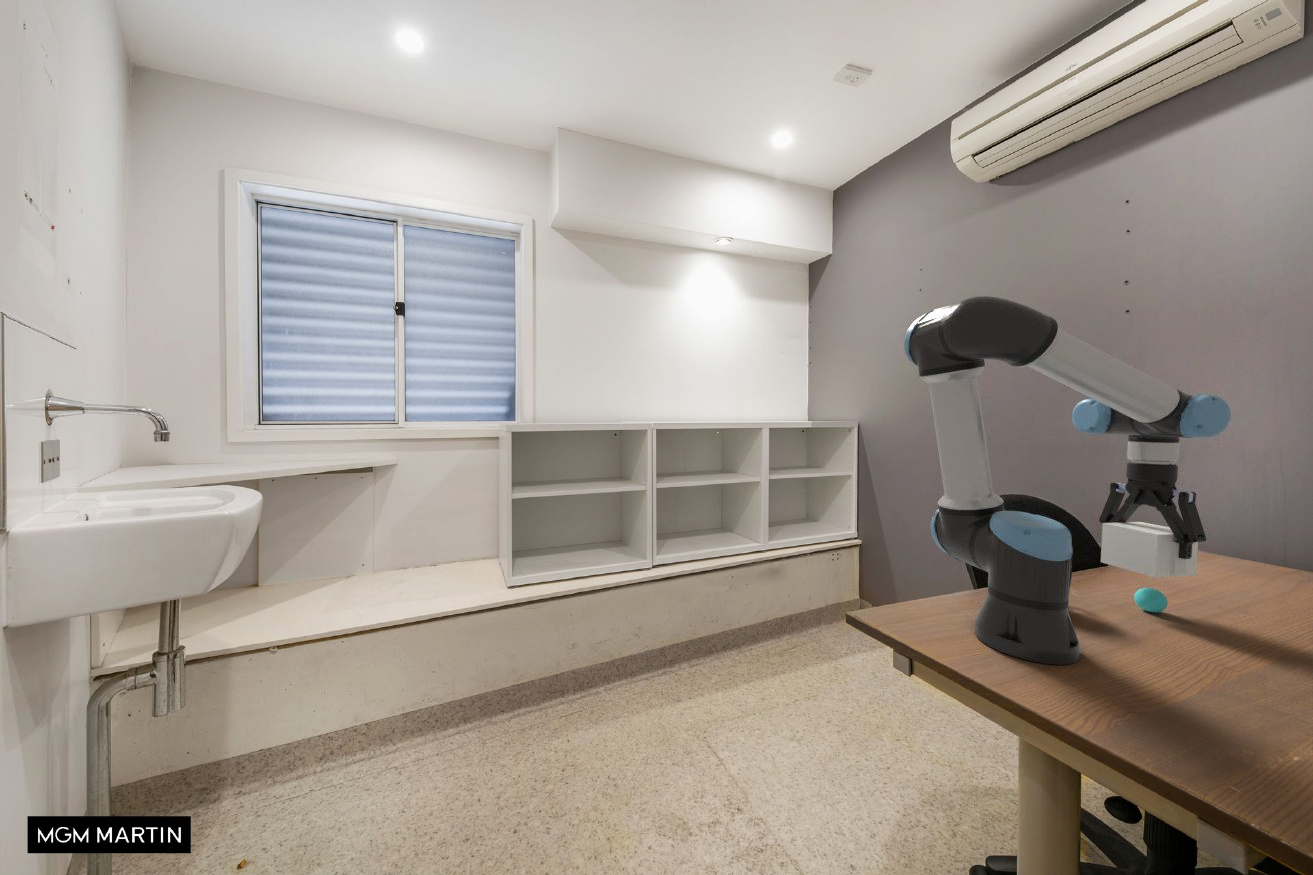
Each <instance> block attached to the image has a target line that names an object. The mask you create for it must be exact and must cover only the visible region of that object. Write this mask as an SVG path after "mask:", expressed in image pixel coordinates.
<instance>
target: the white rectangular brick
mask: <svg viewBox="0 0 1313 875" xmlns="http://www.w3.org/2000/svg"><path fill="white" fill-rule="evenodd" d="M1175 541H1177V539H1176V537H1175V536H1174V534H1173V532H1172V531H1171V529H1170V527H1169V526H1164V525H1159V524H1153V523H1148V522H1144V521H1143V522H1142V521H1129V522H1128V521H1126V522H1122V523H1102V530H1101V550H1100V563H1103V564H1106V565H1110V566H1112V567H1117V568H1120V569H1124V570H1127V571H1131V572H1134V573H1137V574H1141V575H1143V576H1148V577H1150V578H1151V577H1152V578H1154V579H1155V578H1157V579H1159V578H1171V577H1173V578H1174V577H1188V576H1189V577H1190V576H1191V577H1192V576H1197V566H1198V552H1199V549H1198V548H1199V542H1195V543H1193V544H1192V557H1191V558H1190V559H1186V574H1171V573H1170V569H1171V552H1172V542H1175Z"/></svg>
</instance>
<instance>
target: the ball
mask: <svg viewBox="0 0 1313 875" xmlns="http://www.w3.org/2000/svg"><path fill="white" fill-rule="evenodd" d="M1133 596H1134V597H1133V598H1134V602H1135V604H1136V605H1137V606H1138V607H1139V608H1141V610H1144V611H1146V612H1150V613H1161V612H1163V611H1165V610H1166V609H1167V607H1168V605H1169V602H1168V599H1167V598H1168V597H1166V596H1165V594H1164V593H1163V592H1161V591H1160V590H1158V589H1155V588H1152V587H1144V588H1140V589H1138V590H1136V592H1135V593H1134V595H1133Z"/></svg>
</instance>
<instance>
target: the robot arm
mask: <svg viewBox="0 0 1313 875" xmlns="http://www.w3.org/2000/svg"><path fill="white" fill-rule="evenodd" d="M903 342H904V343H903V344H904V345H903V348H904V352H905V355H906V357H907V359H908V360H909V361H910V362H912V364H913V365H915V366H917V369H918V375H919V380H922V381H923V382H925V383H926V384H928V389H929V394H930V401H931V410H932V415H933V422H934V428H935V429H934V430H935V437H936V443H937V450H938V455H939V456H938V457H939V458H938V459H939V465H940V472H941V477H942V478H941V480H942V486H943V492H944V493H943V495H942V496H941V498H940V499H939V500H938V501H937V508H938V509H936V511H935V512H934V515H933V516H932V517H931V520H930V533H931V537H932V539H933V542H934V543H935V544H936V546H937V547H938V548H939V549H940V550H941V551H942V552H944V553H945V554H947V555H949V556H950V557H951V558H953V559H954V560H957V561H959V562H963V563H966V564H967V565H968V564H969V566H973V567H975V568H977V569H980V571H983V572H986V573H988V575H987V576H988V577H987V580H988V581H987V593H986V597H985V600H984V601H983V603H982V605H981V608H980V609H979V612H978V614H977V615H976V618H975V621H974V635H975V637H976V638H977V639H978V640H980V642H982V643H983V644H985V645H987V646H988V647H991V648H992V649H994V650H996V651H999V652H1001V653H1003V654H1007V655H1009V656H1012V657H1014V658H1018V659H1022V660H1025V661H1030V662H1035V663H1040V664H1048V665H1061V666H1062V665H1071V664H1074V663H1077V662H1078V661H1079V660H1080V652H1081V651H1080V648H1081V647H1080V642H1079V639H1078V637H1077V633H1076V630H1075V628H1074V625H1073V622H1072V619H1071V616H1070V613H1069V602H1070V590H1071V584H1070V577H1071V566H1072V564H1073V563H1072V562H1073V555H1074V552H1073V551H1074V549H1073V544H1072V534H1071V531H1070V530H1069V529H1068V527H1067V526H1066V525H1064V524H1063V523H1061V522H1059V521H1057V520H1055V519H1053V518H1050V517H1047V516H1042V515H1040V514H1033V513H1029V512H1025V511H1017V510H1006V509H1005V502H1004V499H1003V497H1000V496H999V495H997V493H995V492H994V489H993V483H992V482H993V481H992V476H991V475H992V474H991V468H990V461H989V454H988V453H989V452H988V446H987V445H988V444H987V438H986V432H985V431H986V430H985V425H984V418H983V410H982V402H981V394H980V388H979V381H978V378H979V375H980V374H981V373H982V372H983V371H984V370H985V368H986V364H985V360H994V361H1000V362H1003V363H1005V364H1007V365H1010V366H1012V367H1015V368H1024V367H1028V368H1029V369H1032V370H1034V371H1036V372H1038V373H1040V374H1042V375H1044V376H1046V377H1048V378H1050V379H1052V380H1054V381H1056V382H1058V383H1061V384H1062V385H1064V386H1067V387H1068V388H1071V389H1072V390H1075V391H1077V392H1079V393H1081V394H1082V395H1085V396H1087V399H1083V400H1081V401H1079V402H1078V403H1077V404H1076V405H1075V407H1074V408H1073V409H1072V414H1071V415H1072V416H1071V417H1072V418H1071V420H1072V424H1073V426H1074V427H1075V429H1077V430H1078V431H1080V432H1081V433H1084V434H1089V435H1090V434H1091V435H1121V436H1124V435H1126V436H1128V437H1127V450H1126V452H1127V453H1126V459H1128V460H1129V461H1128V462H1127V463H1126V471H1125V472H1126V473H1125V477H1126V478H1127V482H1126V483H1124V482H1111V483H1110V486H1109V495H1108V497H1107V500H1106V502H1105V504H1104V507H1103V509H1102V511H1101V514H1100V516H1099V519H1098V521H1099V523H1101V524H1103V523H1122V522H1128V520H1129V519H1130V517H1131V516H1132V515H1133V514H1134V513H1135V511H1137V509H1139V508H1140V507H1142V506H1143V505H1145V506H1149V507H1153V508H1156V510H1157V511H1159V512H1160V514H1161V516H1162V517H1163V519H1164V520H1165V522H1166V524H1167V525H1168V526H1167V527H1170V529H1171V531H1172V532H1173V534H1174V536H1175V537H1176V539H1177V541H1175V542H1172V552H1171V569H1170V573H1171V574H1186V559H1190V558H1191V557H1192V544H1193V543H1195V542H1198V543H1205V542H1206V541H1207V537H1206V533H1205V531H1204V528H1203V527H1204V526H1203V524H1202V520H1201V518H1200V515H1199V512H1198V509H1197V504H1196V499H1197V493H1196V492H1195V491H1183V490H1178V489H1177V486H1176V482H1177V481H1178V474H1179V471H1178V470H1179V466H1178V465H1177V464H1175V463H1177V462H1178V461H1179V457H1180V456H1179V452H1180V440H1181V439H1180V438H1185V439H1192V438H1212V437H1216V436H1219V435H1220V434H1221V433H1223V432H1224V431H1225V430H1226V429H1227V427H1228V425H1229V423H1230V421H1231V418H1232V412H1231V408H1230V406H1229V404H1228V403H1227V401H1226V400H1225V399H1223V398H1222V397H1219V396H1217V395H1212V394H1211V395H1210V394H1208V395H1207V394H1206V395H1205V394H1199V393H1198V394H1195V395H1192V394H1188V393H1185V392H1183V391H1181V390H1180V389H1177V388H1175V387H1173V386H1171V385H1169V384H1167V383H1165V382H1163V381H1161V380H1159V379H1157V378H1155V377H1153V376H1151V375H1149V374H1147V373H1146V372H1144V371H1142V370H1140V369H1137V368H1136V367H1134V366H1132V365H1130V364H1128V363H1126V362H1124V361H1122V360H1120V359H1118V358H1117V357H1115V356H1112V355H1110V354H1109V353H1106V352H1105V351H1102V350H1101V349H1099V348H1098V347H1094V346H1093V345H1091V344H1089V343H1087V342H1085V341H1084V340H1081V339H1080V338H1077V337H1075V336H1073V335H1071V334H1070V333H1067V332H1066V331H1064V330H1062V329H1060V324H1059V322H1058V321H1057V320H1056V319H1055V318H1054V317H1051V316H1049V315H1047V314H1046V313H1043V312H1041V311H1039V310H1037V309H1035V308H1032V307H1030V306H1028V305H1025V304H1022V303H1019V302H1017V301H1013V300H1009V299H1005V298H1001V297H997V296H988V295H983V296H972V297H969V298H966V299H963V300H961V301H957V302H955V303H951V304H948V305H945V306H942V307H939V308H935V309H932V310H929V311H928V312H926V313H924V314H923V315H921V316H919V317H918V318H917V319H915V320H914V321H913V322H912V323H911V325H910V326H909V327H908V329H907V331H906V333H905V336H904V341H903ZM1088 397H1089V398H1088ZM1126 492H1127V493H1128V494H1129V495H1128V496H1127V498H1126V499H1125V500H1124V501H1123V499H1124V497H1125V494H1126ZM1174 498H1175V500H1176V502H1177V501H1178V502H1177V504H1178V509H1179V512H1180V513H1179V512H1178V511H1177V505H1176V504H1175V502H1174V501H1173V499H1174ZM1122 502H1123V504H1122ZM1121 504H1122V506H1121ZM1071 578H1072V577H1071ZM1069 589H1070V590H1069Z"/></svg>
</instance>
